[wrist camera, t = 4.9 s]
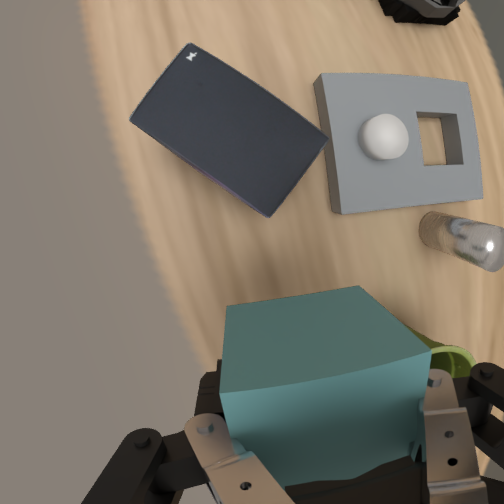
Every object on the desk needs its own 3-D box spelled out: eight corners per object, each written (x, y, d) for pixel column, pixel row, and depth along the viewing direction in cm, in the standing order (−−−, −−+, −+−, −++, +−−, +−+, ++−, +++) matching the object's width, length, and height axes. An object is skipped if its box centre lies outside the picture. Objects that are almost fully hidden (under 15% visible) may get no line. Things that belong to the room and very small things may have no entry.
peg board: (466, 196, 29) (498, 201, 23) (331, 211, 29) (351, 217, 23) (451, 88, 26) (481, 77, 21) (313, 83, 26) (328, 63, 21)
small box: (162, 141, 27) (120, 120, 17) (205, 83, 26) (188, 35, 16) (258, 209, 28) (267, 224, 18) (301, 150, 27) (335, 134, 17)
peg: (446, 243, 30) (508, 267, 20) (419, 248, 30) (480, 275, 20) (445, 210, 29) (510, 224, 19) (418, 213, 29) (481, 229, 19)
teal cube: (358, 285, 13) (431, 350, 7) (358, 390, 14) (405, 475, 8) (226, 306, 13) (219, 393, 7) (246, 410, 14) (251, 509, 8)
